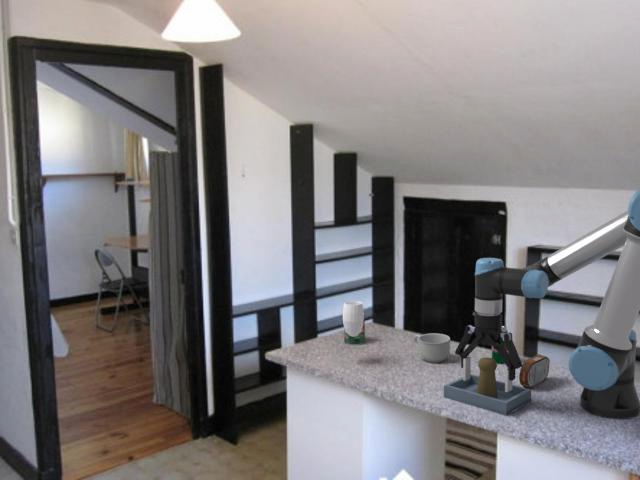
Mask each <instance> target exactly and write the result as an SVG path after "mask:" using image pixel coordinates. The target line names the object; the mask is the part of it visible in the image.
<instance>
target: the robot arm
mask: <svg viewBox="0 0 640 480" xmlns="http://www.w3.org/2000/svg"><path fill="white" fill-rule="evenodd" d="M628 202H629V203H628V207H627V210H626V211H624V212H623V213H621V214H619V215H617V216H616V217H614V218H612V219H610V220H609V221H607V222H605V223H603V224H601V225H599V226H598V227H597V228H594V229H592V230H591V231H590V232H588V233H586V234H584V235H582V236H580V238H577V239H575V240H573V241H572V242H570V243H569V244H567V245H565V246H563V247H561V248H560V249H558V250H556V251H555V252H553V253H551V254H549V255H548V256H544V258H542V259H540V260H539V261H537V262H534V263H533V264H530V265H528V266H526V267H523V268H519V267H518V268H515V267H506V266H504V261H503V260H502V259H501V258H496V257H482V258H481V257H480V258H479V259H477V260H476V263H475V272H474V278H475V279H474V283H475V284H474V285H475V288H474V289H475V294H474V295H475V296H474V312H475V313H474V325H473V324H469V325H466V326H465V328H464V334H463V336H462V337H461V339H460V341H459V344H458V345H457V347H456V349H455V351H454V354H455V355H457V356H459V357H460V367H461V369H462V370H463V371H462V377H463V380H464V381H466V380H468V379H470V374H471V367H472V366H471V358H472V357H470V354H471V353H472V352H473V351H474V350H475V349H476V348H477V347H478V346H479V345H480V344H481V345H483V346H484V345H486V346H489V347H492V346H493V347H494V349H496V350H497V352H498V353H499V355H500V356H501V358H502V359H503V361H504V362H505V363H504V364H505V365H506V368H505V371H504V372H505V374H504V375H505V376H504V379H505V380H504V383H505V392H509V391H511V390H512V385H513V382H514V381H515V379H516V370H518V369H521V367H522V365H523V363H522V360H521V358H520V356H519V352H518V351H517V348H516V346H515V342H514V340H513V333H512V332H508V333H502V331H501V327H502V326H503V314H502V312H503V295H508V296H515V297H523V298H528V299H533V298H534V299H542V298H544V297H545V296H546V294H547V292H548V290H549V289H548V288H549V287H551V286H553V285H554V284H556V283H558V282H559V281H560V282H561V280H563V279H565V278H567V277H569V276H570V275H572V274H574V273H576V272H578V271H580V270H582V269H584V268H586V267H587V266H590V265H591V264H592V263H595V262H596V261H599V260H600V259H602V258H604V257H606V256H607V255H610V254H612V253H613V252H616V251H617V250H619V249H621V248H622V247H623V248H622V250H621V252H620V255H619V258H618V261H617V262H616V265H615V268H614V270H613V274H612V276H611V277H610V281H609V282H608V283H609V284H608V286H607V289H606V291H605V294H604V297H603V299H602V302H601V305H600V306H599V309H598V311H597V314H596V316H595V320H594V321H593V324H591V325H587V326H586V327H585V328H584V330H583V331H582V335H581V336H580V337H581V338H580V340H579V342H578V345H577V347H576V348H575V349H574V350H573V351H572V352H571V354H570V356H569V360H568V370H569V372H570V374H571V376H572V378H573V379H574V380H575V382H577V384H579V385H580V386H581V387H583V389H582V392H581V394H580V397H579V398H580V399H579V405H580V407H581V409H582V410H584V411H586V412H588V413H589V414H593V415H596V416H600V417H604V418H609V419H630V418H635V417H638V416H639V415H640V398H639V395H638V393H637V389H636V385H635V373H636V352H637V342H638V339H637V333H636V331H635V330H634V329H633V328H634V325H635V323H636V320H637V318H638V316H639V314H640V188H639V189H638V190H637V191H635V193H634V194H633V195H632V197H631V198H630V200H629V201H628ZM473 334H474V335H475V337H474V339H473V340H472V342H471V343H470V344H468V343H469V341H470V338H471V337H472V335H473ZM501 338H503V341H504V342H505V346H506V348H507V350H506V349H505V347H504V344H503V342H502V341H501ZM497 343H498V344H497Z"/></svg>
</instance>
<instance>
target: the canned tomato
mask: <svg viewBox="0 0 640 480" xmlns="http://www.w3.org/2000/svg"><path fill="white" fill-rule="evenodd" d="M365 317H366V313H364V321H363V327H362V331H361V333H359V334H358V335H357V336H355V337H352V336H350V335H349V334H348V333H346V331H345V328H344V327H343V330H344V331H343V332H344V333H343V334H344V335H343V336H344V337H343V343H344V344H346V345H348V346H360V345H361V346H362V345H364V344H366V340H365V339H366V332H365V331H366V330H365V328H366V327H365V326H366V325H365V324H366V323H365V320H366V319H365Z"/></svg>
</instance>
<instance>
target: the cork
mask: <svg viewBox="0 0 640 480" xmlns="http://www.w3.org/2000/svg"><path fill="white" fill-rule="evenodd" d="M477 366H478V368H479V375H478V376H479V380H478V387H477V393H478V394H481V395H485V396H488V397H492V398H495V399H496V398H497V397H498V394H497V385H496V380H497V379H496V377H497V376H496V370H497V367H498V363H497V362H496V360H494V359H493V358H492V357H481V358H480V359H479V360H478V364H477Z"/></svg>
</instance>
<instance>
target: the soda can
mask: <svg viewBox="0 0 640 480" xmlns="http://www.w3.org/2000/svg"><path fill="white" fill-rule="evenodd" d="M501 331H502V333H509V332H508V328H507V326H504V325H502V327H501ZM501 341H502V342H503V344H504V347H505V349H506V350H507V348H506V346H505V342H504V341H503V338H501ZM497 344H498V343H497ZM491 358H493V359H494V360H496V362H497V364H505V362H504V361H503V359H502V358H501V356H500V355H499V353H498V352H497V350H496V349H494V347H493V346H491Z"/></svg>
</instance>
